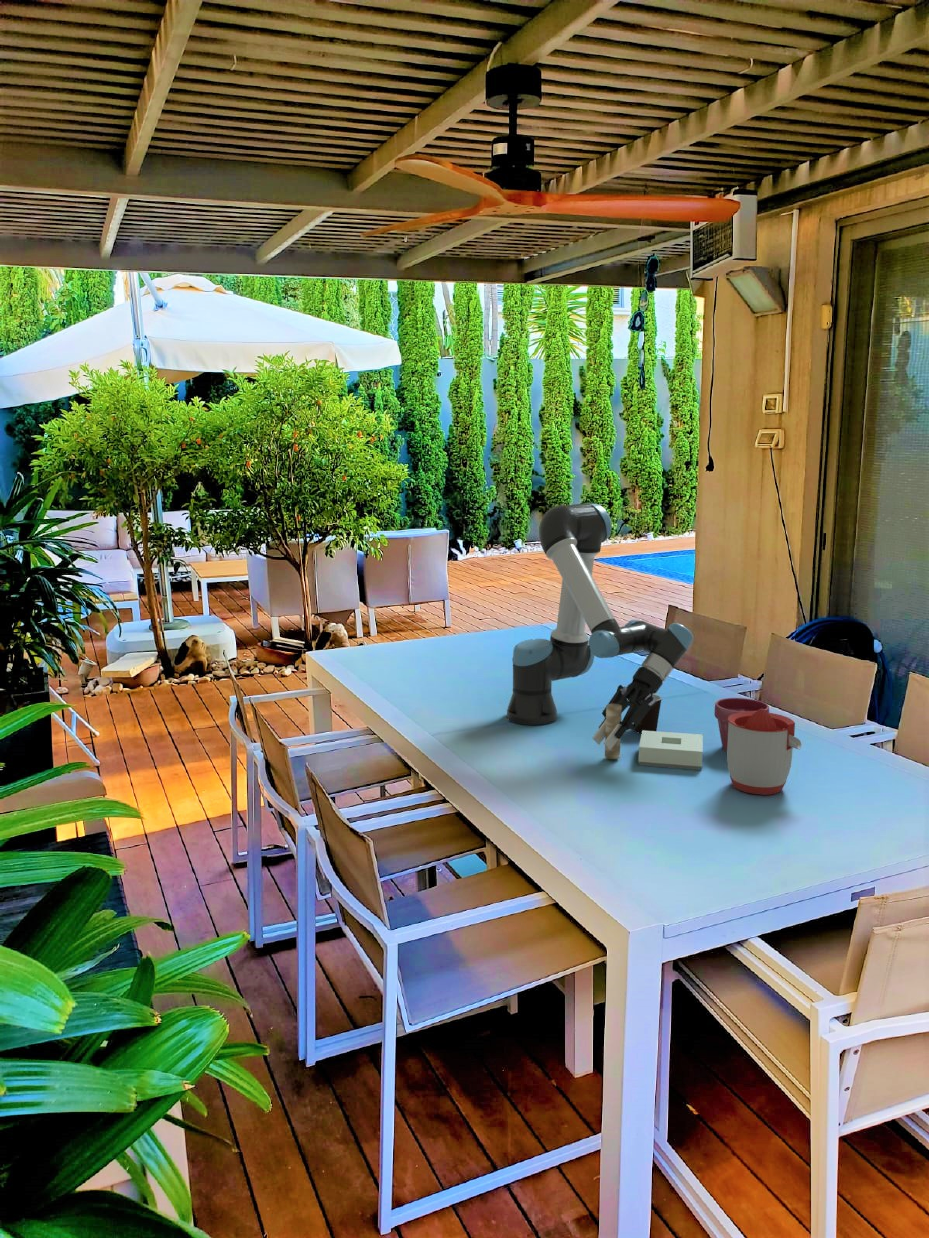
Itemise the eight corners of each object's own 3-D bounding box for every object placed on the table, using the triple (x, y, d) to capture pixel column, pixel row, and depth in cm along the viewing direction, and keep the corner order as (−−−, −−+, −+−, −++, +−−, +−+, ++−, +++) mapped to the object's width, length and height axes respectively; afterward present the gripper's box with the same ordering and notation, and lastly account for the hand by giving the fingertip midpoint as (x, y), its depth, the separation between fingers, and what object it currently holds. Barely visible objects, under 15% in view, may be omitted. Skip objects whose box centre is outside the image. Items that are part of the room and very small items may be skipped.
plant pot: (730, 737, 268) (732, 693, 266) (776, 749, 258) (779, 703, 256) (702, 749, 258) (704, 704, 256) (749, 761, 249) (752, 715, 246)
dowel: (603, 758, 249) (605, 707, 247) (605, 753, 253) (607, 703, 250) (619, 759, 249) (621, 708, 246) (620, 754, 252) (622, 704, 249)
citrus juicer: (789, 805, 220) (795, 723, 216) (715, 791, 229) (719, 711, 225) (805, 784, 233) (810, 706, 229) (734, 771, 242) (738, 695, 238)
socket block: (638, 765, 246) (638, 746, 245) (641, 747, 260) (642, 730, 259) (701, 770, 243) (702, 751, 242) (701, 752, 256) (702, 734, 255)
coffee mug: (660, 736, 270) (661, 702, 268) (629, 734, 271) (630, 700, 269) (660, 723, 281) (661, 691, 279) (630, 722, 282) (631, 689, 280)
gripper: (681, 690, 248) (630, 761, 243) (637, 675, 262) (588, 742, 257) (667, 673, 244) (614, 745, 239) (623, 659, 258) (573, 726, 253)
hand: (601, 743), depth 248 cm, fingers closed on dowel, 4 cm apart
